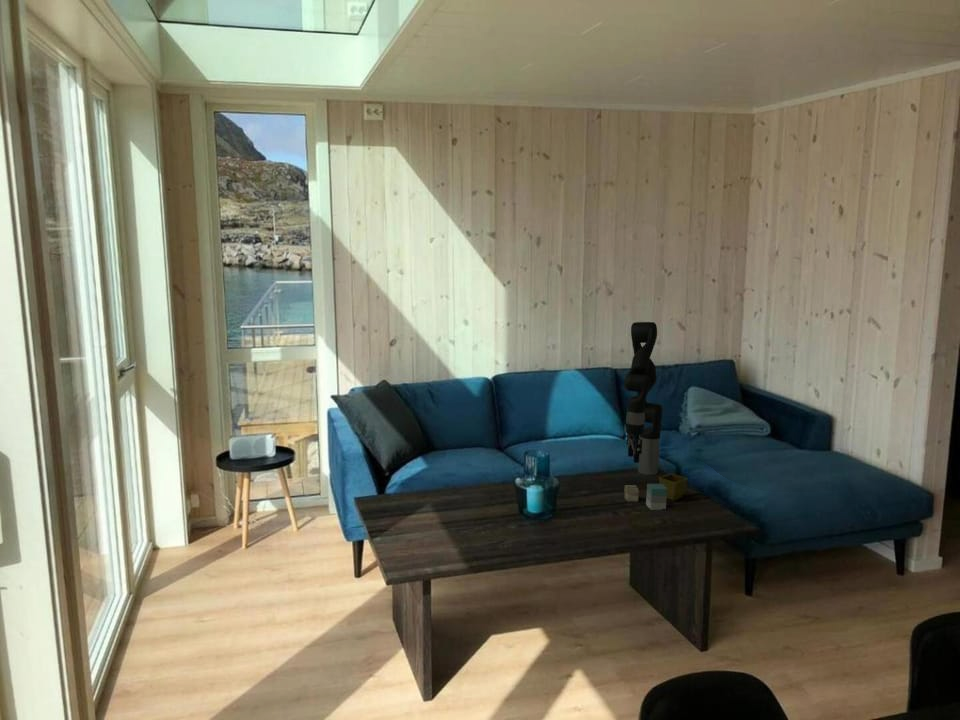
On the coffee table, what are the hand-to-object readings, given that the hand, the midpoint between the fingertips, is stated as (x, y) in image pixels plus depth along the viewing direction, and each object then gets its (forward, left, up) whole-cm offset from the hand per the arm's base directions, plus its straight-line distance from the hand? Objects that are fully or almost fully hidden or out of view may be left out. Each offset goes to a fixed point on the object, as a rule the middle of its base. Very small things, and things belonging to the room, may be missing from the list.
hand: (633, 459), depth 322 cm
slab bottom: (+9, +8, -18) cm, 22 cm away
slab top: (+9, +8, -12) cm, 17 cm away
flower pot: (-1, +18, -18) cm, 25 cm away
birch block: (0, 0, -18) cm, 18 cm away
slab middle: (+9, +8, -15) cm, 19 cm away
